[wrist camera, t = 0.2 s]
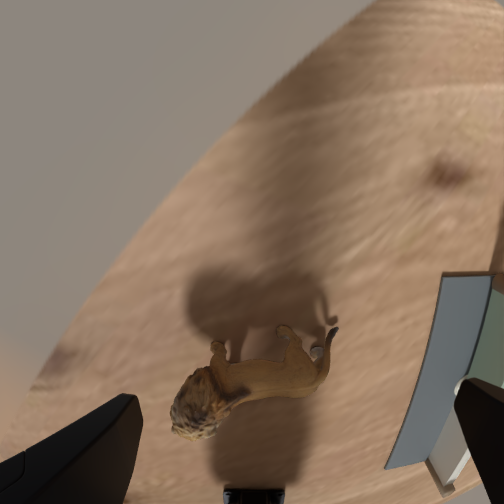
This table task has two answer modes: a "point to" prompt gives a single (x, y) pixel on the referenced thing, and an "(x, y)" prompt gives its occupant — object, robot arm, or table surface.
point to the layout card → (443, 365)
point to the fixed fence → (448, 455)
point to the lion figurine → (245, 384)
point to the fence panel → (491, 339)
